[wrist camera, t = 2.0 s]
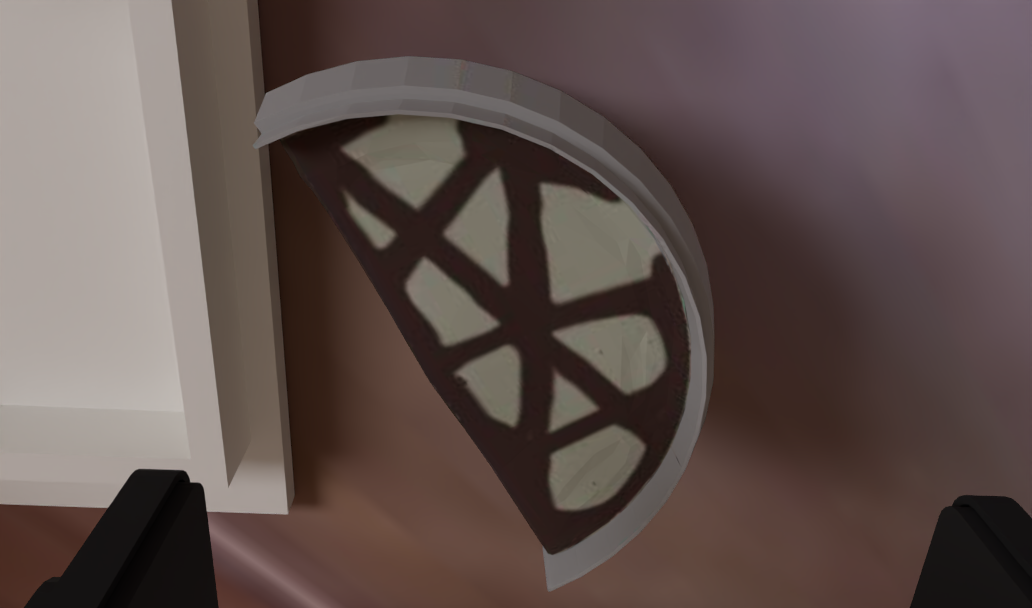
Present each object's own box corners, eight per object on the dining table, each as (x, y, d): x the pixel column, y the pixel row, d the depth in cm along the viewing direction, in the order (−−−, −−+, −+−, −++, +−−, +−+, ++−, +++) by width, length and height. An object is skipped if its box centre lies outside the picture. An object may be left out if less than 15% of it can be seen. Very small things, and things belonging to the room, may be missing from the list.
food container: (715, 302, 26) (824, 505, 17) (542, 380, 28) (559, 608, 19) (542, -77, 22) (566, -70, 13) (342, 36, 23) (233, 117, 14)
